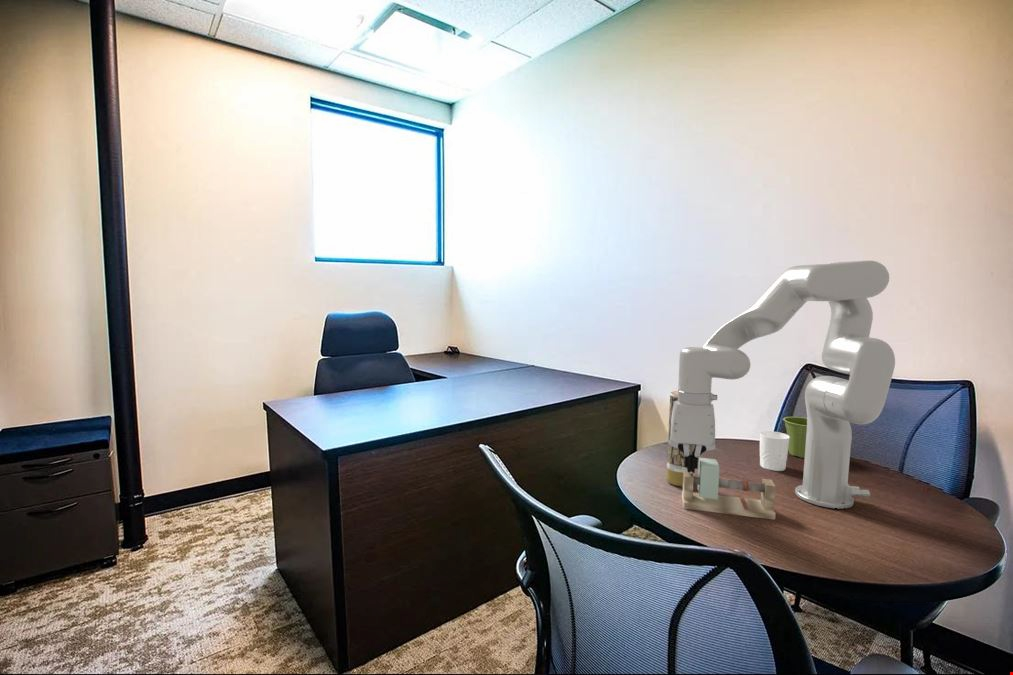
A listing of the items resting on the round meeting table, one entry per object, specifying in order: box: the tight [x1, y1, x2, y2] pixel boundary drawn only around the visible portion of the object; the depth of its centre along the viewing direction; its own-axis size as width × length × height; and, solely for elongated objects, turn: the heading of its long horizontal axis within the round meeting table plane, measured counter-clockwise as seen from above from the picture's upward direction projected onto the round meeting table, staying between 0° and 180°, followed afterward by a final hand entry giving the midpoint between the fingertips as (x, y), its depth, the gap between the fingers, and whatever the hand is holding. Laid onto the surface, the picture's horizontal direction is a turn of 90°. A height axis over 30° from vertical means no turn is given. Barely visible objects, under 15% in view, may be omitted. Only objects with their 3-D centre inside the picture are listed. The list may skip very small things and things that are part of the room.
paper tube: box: [666, 390, 695, 488], centre depth 133 cm, size 7×7×25 cm
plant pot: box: [782, 416, 807, 459], centre depth 157 cm, size 12×12×11 cm
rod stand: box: [681, 471, 776, 520], centre depth 119 cm, size 20×7×8 cm, turn 74°
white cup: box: [759, 430, 790, 472], centre depth 146 cm, size 8×8×10 cm
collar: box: [697, 457, 721, 499], centre depth 120 cm, size 4×6×8 cm
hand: (690, 470), depth 121 cm, fingers closed
